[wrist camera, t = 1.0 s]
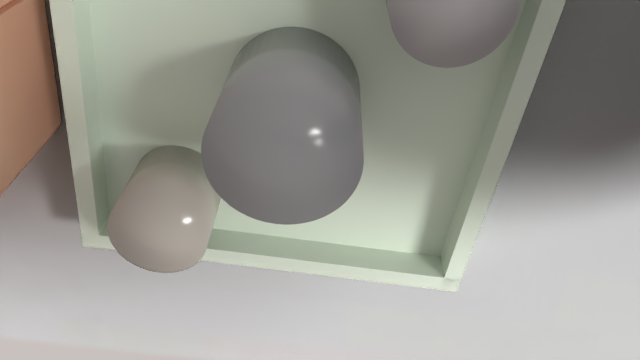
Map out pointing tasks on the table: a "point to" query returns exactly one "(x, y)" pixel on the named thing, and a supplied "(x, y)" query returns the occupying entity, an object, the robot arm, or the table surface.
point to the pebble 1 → (165, 211)
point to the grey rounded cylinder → (286, 128)
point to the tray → (376, 111)
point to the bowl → (25, 86)
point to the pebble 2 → (451, 28)
